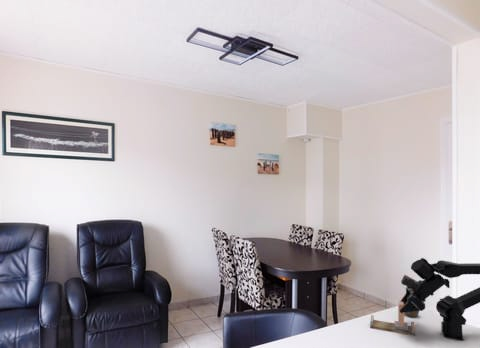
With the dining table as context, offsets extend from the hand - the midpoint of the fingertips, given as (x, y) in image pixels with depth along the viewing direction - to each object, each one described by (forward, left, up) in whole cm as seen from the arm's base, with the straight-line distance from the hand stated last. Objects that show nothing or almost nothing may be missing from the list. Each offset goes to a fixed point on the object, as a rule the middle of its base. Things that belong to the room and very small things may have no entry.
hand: (399, 308), depth 139 cm
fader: (0, 0, -8) cm, 8 cm away
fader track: (+3, 0, -9) cm, 10 cm away
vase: (-5, -19, -9) cm, 22 cm away
